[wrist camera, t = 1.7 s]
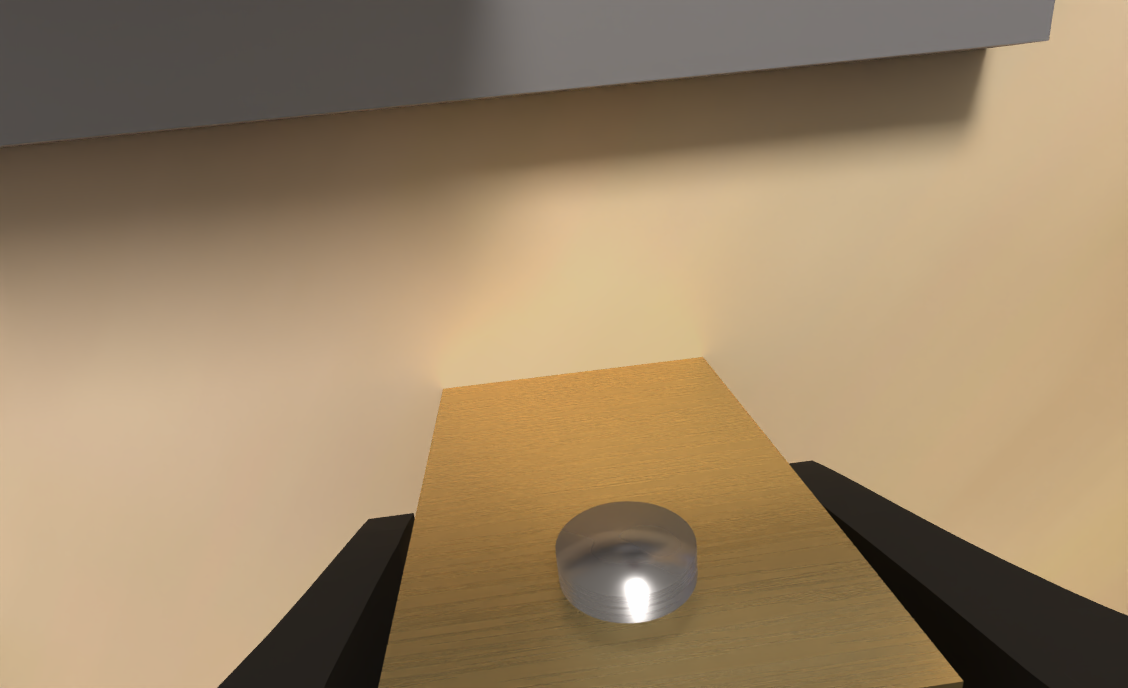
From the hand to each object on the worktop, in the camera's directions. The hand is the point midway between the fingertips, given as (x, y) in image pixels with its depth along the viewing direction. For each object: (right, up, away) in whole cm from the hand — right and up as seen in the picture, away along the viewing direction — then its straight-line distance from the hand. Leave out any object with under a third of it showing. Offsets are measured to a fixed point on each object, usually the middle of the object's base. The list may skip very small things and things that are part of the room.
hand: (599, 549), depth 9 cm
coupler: (0, +1, +2) cm, 2 cm away
